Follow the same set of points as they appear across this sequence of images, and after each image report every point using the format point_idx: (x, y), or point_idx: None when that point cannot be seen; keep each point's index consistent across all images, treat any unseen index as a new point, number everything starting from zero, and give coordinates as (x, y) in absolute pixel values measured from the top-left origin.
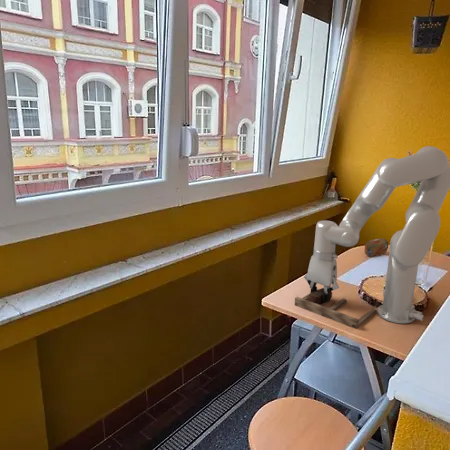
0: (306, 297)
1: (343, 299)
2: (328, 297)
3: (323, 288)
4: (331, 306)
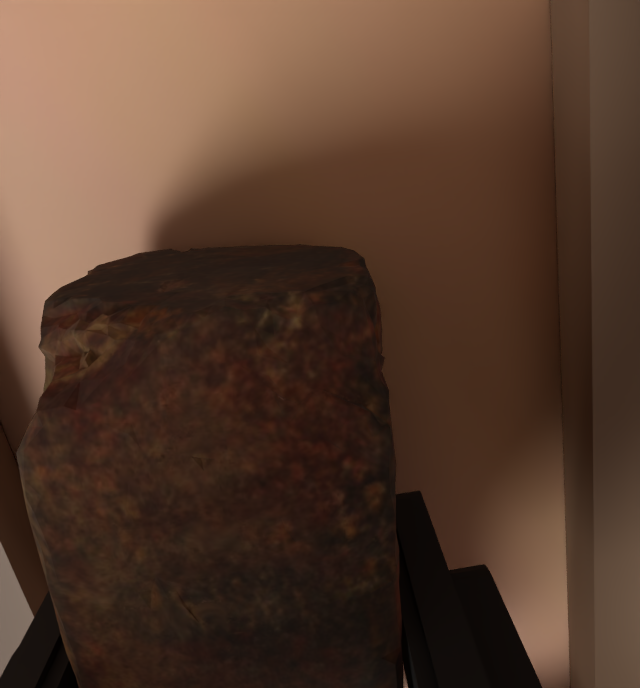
0: None
1: (629, 38)
2: (506, 622)
3: (81, 491)
4: (599, 567)
